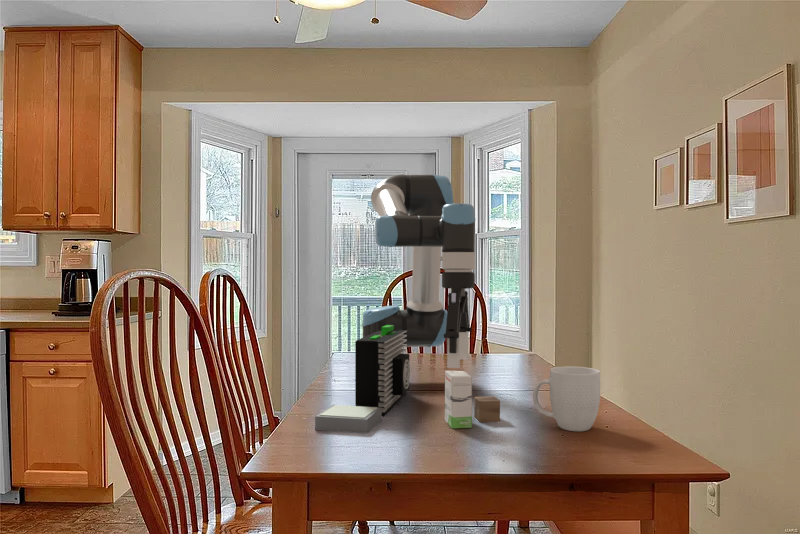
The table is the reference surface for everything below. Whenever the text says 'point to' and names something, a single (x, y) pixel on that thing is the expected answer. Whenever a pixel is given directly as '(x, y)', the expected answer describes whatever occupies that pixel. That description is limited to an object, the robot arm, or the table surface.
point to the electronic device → (381, 369)
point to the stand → (348, 418)
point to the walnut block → (487, 409)
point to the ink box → (458, 399)
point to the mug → (572, 396)
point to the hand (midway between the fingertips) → (458, 363)
